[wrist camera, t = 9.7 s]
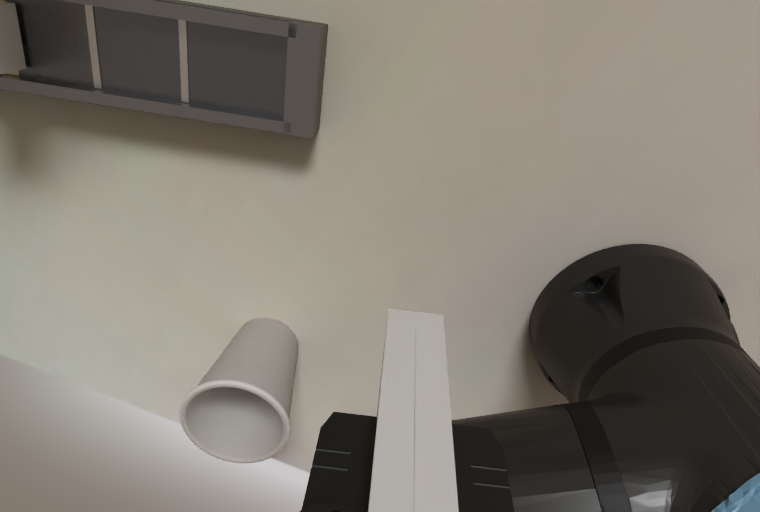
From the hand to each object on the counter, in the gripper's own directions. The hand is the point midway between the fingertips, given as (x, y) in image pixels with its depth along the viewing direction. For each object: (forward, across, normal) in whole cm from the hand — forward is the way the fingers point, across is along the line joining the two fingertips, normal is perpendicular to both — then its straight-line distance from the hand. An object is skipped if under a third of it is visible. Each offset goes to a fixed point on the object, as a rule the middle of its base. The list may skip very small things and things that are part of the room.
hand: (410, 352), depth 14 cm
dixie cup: (+26, +11, +20) cm, 35 cm away
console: (+25, +21, -4) cm, 33 cm away
